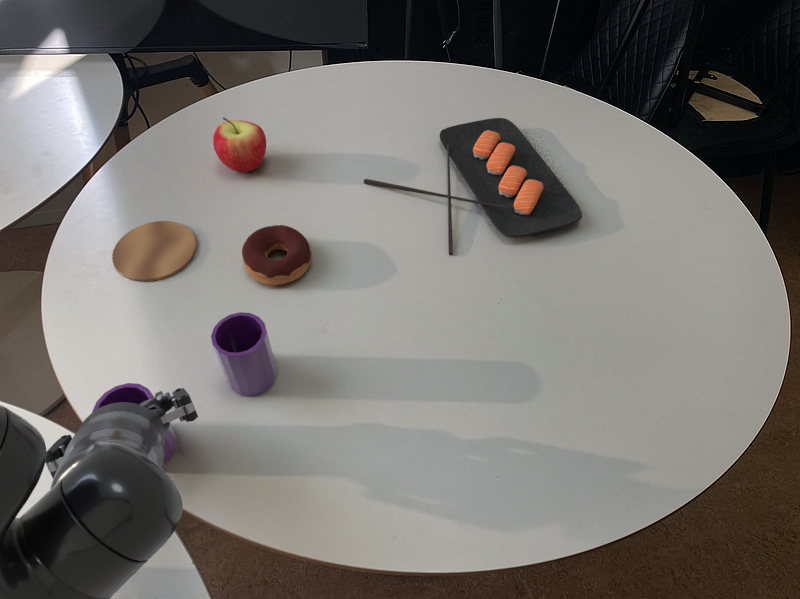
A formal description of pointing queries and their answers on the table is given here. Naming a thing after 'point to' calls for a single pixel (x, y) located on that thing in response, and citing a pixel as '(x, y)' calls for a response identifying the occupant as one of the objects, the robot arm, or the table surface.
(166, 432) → the cup
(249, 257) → the donut
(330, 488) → the table surface
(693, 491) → the table surface
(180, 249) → the coaster
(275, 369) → the cup
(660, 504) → the table surface
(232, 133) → the apple
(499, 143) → the sushi plate
